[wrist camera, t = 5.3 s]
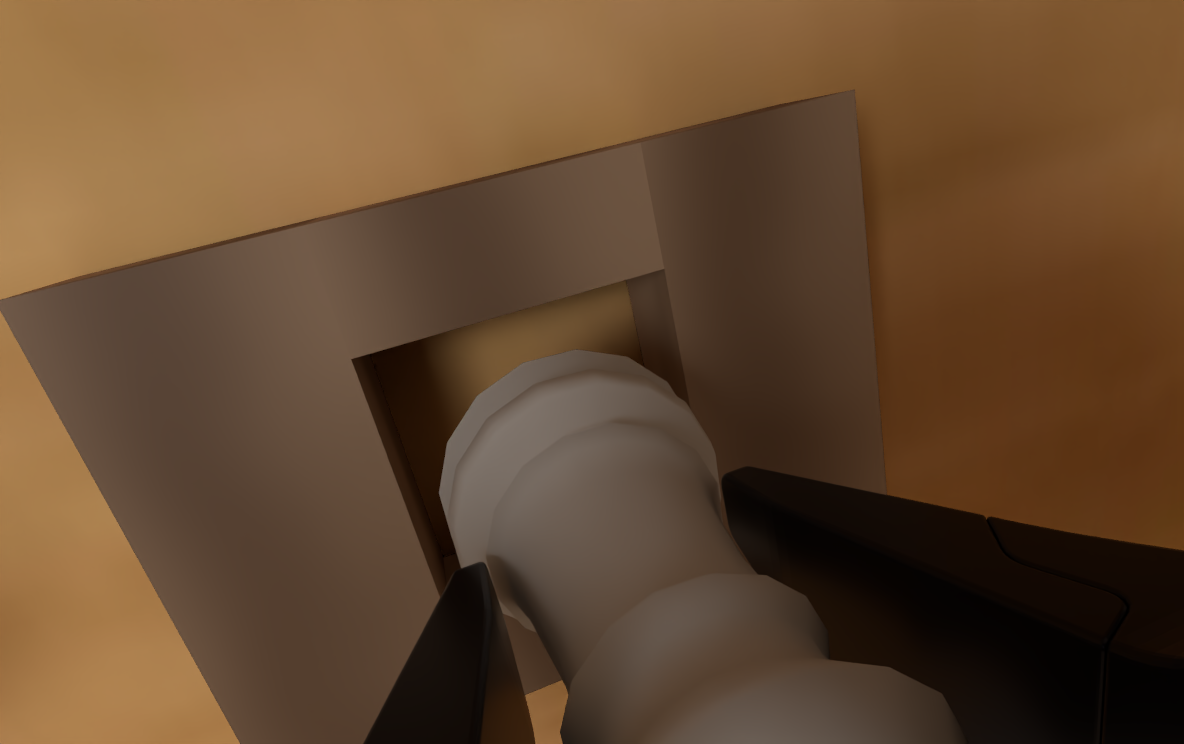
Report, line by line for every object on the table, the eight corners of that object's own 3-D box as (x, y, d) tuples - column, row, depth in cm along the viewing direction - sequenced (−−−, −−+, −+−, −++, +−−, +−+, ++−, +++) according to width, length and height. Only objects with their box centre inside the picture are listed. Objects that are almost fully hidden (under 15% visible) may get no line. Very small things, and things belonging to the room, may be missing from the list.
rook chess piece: (639, 298, 11) (1141, 553, 3) (716, 509, 12) (1171, 989, 5) (388, 415, 10) (354, 1022, 3) (503, 619, 12) (668, 1347, 4)
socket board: (780, 104, 14) (854, 89, 12) (826, 497, 17) (891, 546, 15) (77, 276, 11) (-6, 301, 9) (290, 701, 15) (270, 798, 12)
